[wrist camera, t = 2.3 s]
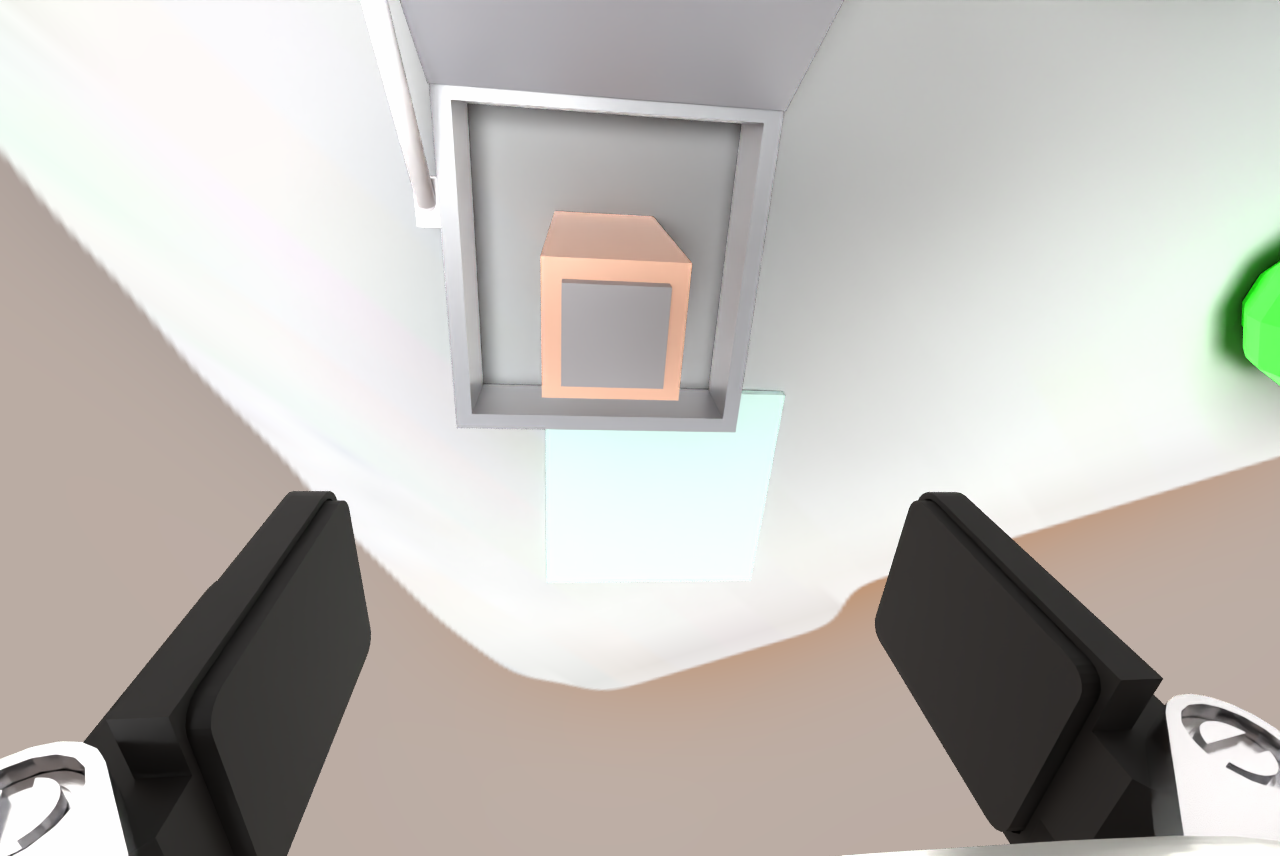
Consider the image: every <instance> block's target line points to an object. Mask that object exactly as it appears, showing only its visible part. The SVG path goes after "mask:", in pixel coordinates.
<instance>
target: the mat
mask: <svg viewBox="0 0 1280 856" xmlns="http://www.w3.org/2000/svg"><path fill="white" fill-rule="evenodd" d="M784 399H785V394H784V393H783V392H782V391H750V390H742V393H741V400H740V407H739V413H738V420H737V427H736V432H676V431H616V430H556V429H546V564H547V583H581V582H671V581H751V576H752V570H753V565H754V560H755V554H756V549H757V544H758V538H759V533H760V528H761V522H762V517H763V512H764V506H765V501H766V496H767V490H768V485H769V480H770V474H771V469H772V464H773V458H774V453H775V447H776V442H777V437H778V431H779V426H780V421H781V415H782V410H783V405H784Z"/></svg>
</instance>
